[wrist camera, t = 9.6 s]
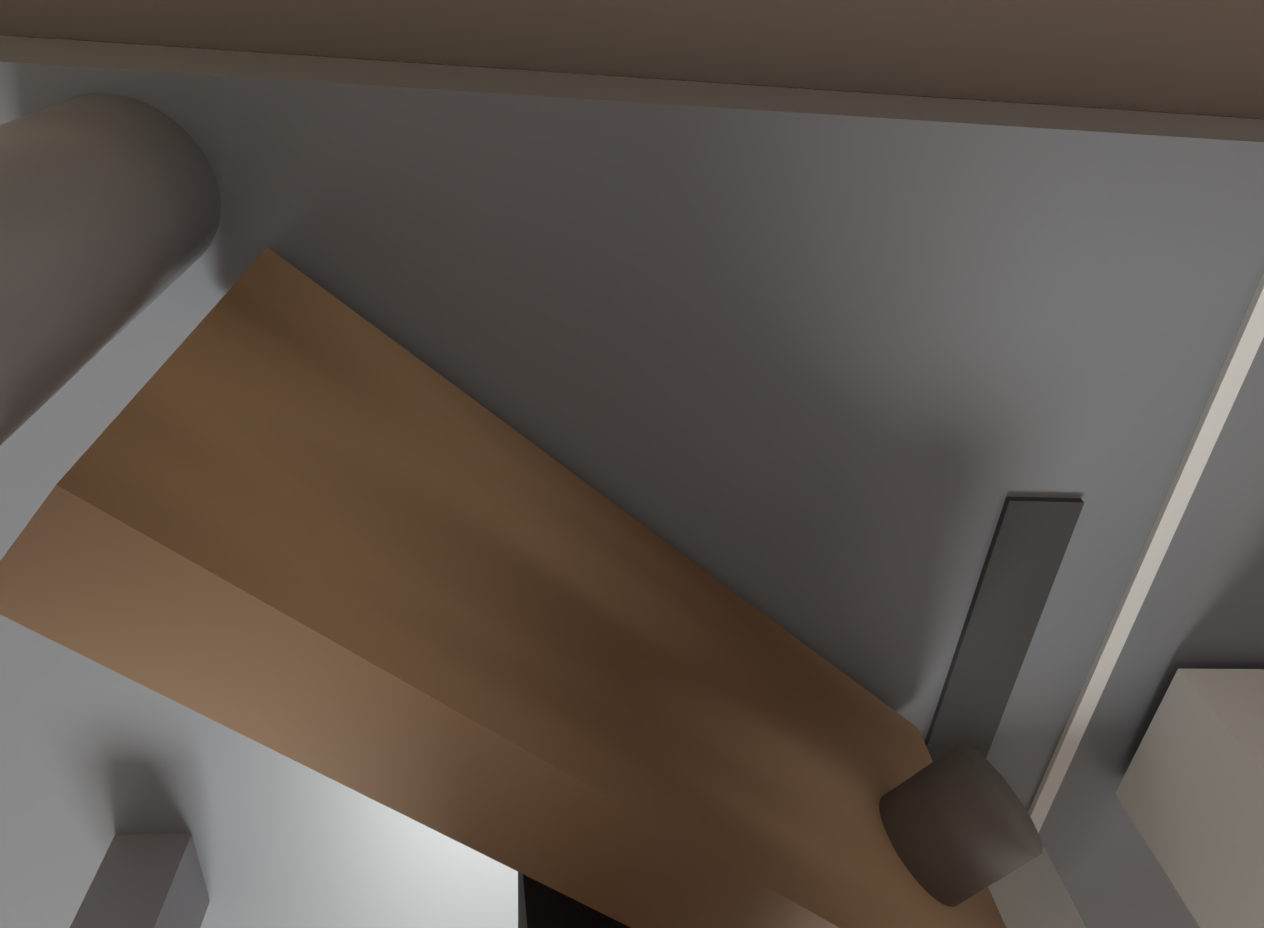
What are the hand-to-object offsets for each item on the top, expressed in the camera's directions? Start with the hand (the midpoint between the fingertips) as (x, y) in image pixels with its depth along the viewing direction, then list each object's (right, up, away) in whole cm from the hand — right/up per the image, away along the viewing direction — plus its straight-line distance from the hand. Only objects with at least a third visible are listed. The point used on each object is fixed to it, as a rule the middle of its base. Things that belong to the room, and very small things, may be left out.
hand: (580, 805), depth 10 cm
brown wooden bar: (+1, +3, 0) cm, 3 cm away
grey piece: (+1, +1, +3) cm, 3 cm away
